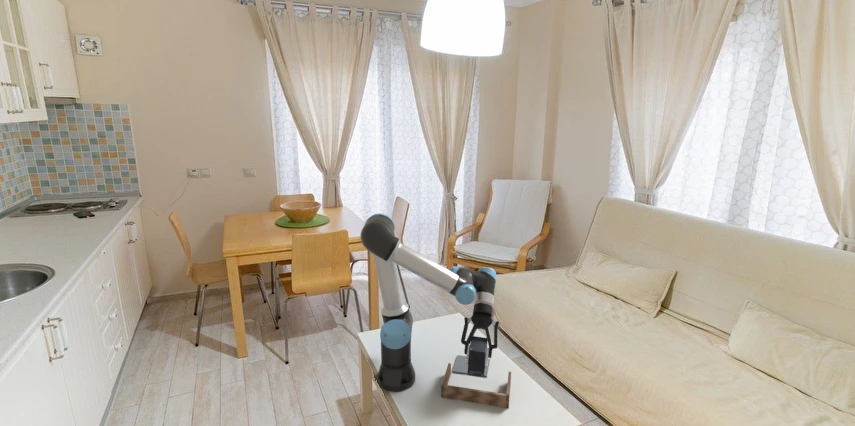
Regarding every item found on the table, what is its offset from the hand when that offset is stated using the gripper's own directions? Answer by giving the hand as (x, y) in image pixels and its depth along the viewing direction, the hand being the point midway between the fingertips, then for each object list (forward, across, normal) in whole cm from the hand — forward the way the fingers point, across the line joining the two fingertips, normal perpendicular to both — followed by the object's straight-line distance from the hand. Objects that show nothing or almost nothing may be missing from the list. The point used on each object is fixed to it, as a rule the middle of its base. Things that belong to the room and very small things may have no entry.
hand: (476, 364), depth 160 cm
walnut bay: (+6, 0, -12) cm, 14 cm away
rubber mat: (-4, +4, -22) cm, 23 cm away
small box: (0, 0, -5) cm, 5 cm away
